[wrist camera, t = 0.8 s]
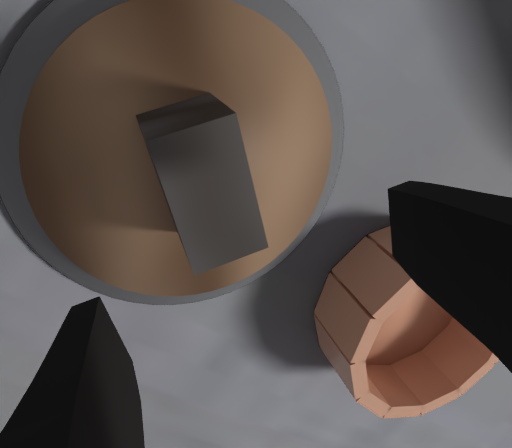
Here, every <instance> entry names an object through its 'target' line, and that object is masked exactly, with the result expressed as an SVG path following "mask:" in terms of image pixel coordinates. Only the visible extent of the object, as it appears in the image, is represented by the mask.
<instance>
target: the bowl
mask: <svg viewBox="0 0 512 448" xmlns="http://www.w3.org/2000/svg"><path fill="white" fill-rule="evenodd" d="M331 271H332V273H329V275H328V277H327V280H326V282H325V285H324V287H323V290H322V293H321V295H320V298H319V300H318V303H317V305H316V308H315V310H314V313H315V314H314V320H315V325H316V330H317V335H318V340H319V345H320V348H321V349H322V351H323V352H324V354H325V355H326V357H327V358H328V360H329V361H330V363H331V364H332V366H333V367H334V369H335V370H336V372H337V373H338V375H339V376H340V378H341V379H342V381H343V382H344V384H345V385H346V387H347V388H348V390H349V391H350V393H351V394H352V396H353V397H354V399H355V400H356V402H358V403H359V404H361V405H362V406H364V407H365V408H367V409H368V410H370V411H371V412H373V413H374V414H376V415H377V416H379V417H380V418H382V417H383V419H384V418H399V417H414V416H419V415H420V414H421V415H424V414H426V413H428V412H430V411H432V410H434V409H436V408H438V407H440V406H442V405H444V404H446V403H448V402H450V401H452V400H455V399H457V398H459V397H460V394H461V395H463V394H464V393H465V392H466V391H467V390H468V389H470V388H471V387H472V386H473V385H474V384H475V383H476V382H477V381H478V380H479V379H480V378H482V377H483V376H484V375H485V374H486V373H487V372H488V371H489V370H490V369H491V368H493V367H494V366H495V365H494V363H497V362H498V360H499V359H498V358H497V357H496V356H495V355H494V354H493V353H492V352H491V351H490V350H489V349H488V348H487V347H486V346H485V345H484V344H483V343H481V342H480V341H479V340H478V339H477V338H476V337H475V336H473V335H472V334H471V333H470V332H469V331H468V330H467V329H466V328H464V327H463V326H462V325H461V324H460V323H459V322H458V321H457V320H455V319H454V318H453V317H452V316H451V315H450V314H449V313H447V312H446V311H445V310H444V309H443V308H442V307H441V306H440V305H438V304H437V303H436V302H435V301H434V300H433V299H432V298H431V297H430V296H428V295H427V294H426V293H425V292H424V291H423V290H422V289H421V288H420V287H419V286H418V285H417V284H416V283H415V282H414V281H413V280H412V279H411V278H410V277H409V275H408V274H407V273H406V272H405V271H404V269H403V268H402V267H401V266H400V265H399V263H398V262H397V261H396V260H395V258H394V257H393V256H392V242H391V228H390V226H388V227H386V228H383V229H381V230H378V231H375V232H373V233H370V234H368V237H366V236H365V237H364V238H363V239H362V240H361V241H360V242H359V243H358V244H357V245H356V246H355V247H354V248H353V249H352V250H351V251H350V252H349V253H348V254H347V255H346V256H345V257H344V258H343V259H342V260H341V261H340V262H339V263H338V264H337V265H336V266H335V267H334V268H333V269H332V270H331Z"/></svg>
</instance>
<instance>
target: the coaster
mask: <svg viewBox="0 0 512 448" xmlns="http://www.w3.org/2000/svg"><path fill="white" fill-rule="evenodd" d="M125 1H128V0H54V1H52V2H51V3H50V4H49V5H48V6H47V7H46V8H45V9H44V10H43V11H42V12H41V13H40V14H39V15H38V16H37V17H36V18H35V19H34V20H33V21H32V22H31V23H30V25H29V26H28V27H27V29H26V30H25V31H24V33H23V34H22V36H21V37H20V38H19V40H18V41H17V42H16V44H15V45H14V47H13V49H12V51H11V53H10V55H9V57H8V59H7V61H6V63H5V65H4V67H3V69H2V71H1V74H0V196H1V199H2V201H3V203H4V205H5V207H6V209H7V211H8V213H9V215H10V217H11V219H12V221H13V222H14V224H15V225H16V227H17V228H18V230H19V231H20V233H21V234H22V236H23V237H24V238H25V240H26V241H27V242H28V243H29V244H30V245H31V246H32V247H33V249H34V250H35V251H36V252H37V253H38V254H39V255H40V256H41V257H42V258H43V259H44V260H46V261H47V262H48V263H49V264H50V265H51V266H53V267H54V268H55V269H56V270H57V271H59V272H61V273H62V274H64V275H65V276H67V277H68V278H70V279H71V280H73V281H74V282H76V283H78V284H80V285H82V286H84V287H86V288H88V289H90V290H92V291H95V292H98V293H100V294H103V295H106V296H109V297H112V298H115V299H120V300H124V301H129V302H133V303H142V304H151V305H176V304H185V303H193V302H198V301H202V300H207V299H211V298H215V297H218V296H221V295H224V294H227V293H230V292H232V291H234V290H236V289H239V288H241V287H243V286H245V285H247V284H249V283H251V282H253V281H254V280H256V279H258V278H259V277H261V276H263V275H264V274H266V273H267V272H268V271H270V270H271V269H273V268H274V267H275V266H277V265H278V264H279V263H280V262H281V261H283V260H284V259H285V258H286V257H287V256H288V255H289V254H290V253H291V252H292V251H293V250H294V249H295V248H296V247H297V246H298V245H299V244H300V243H301V242H302V240H303V239H304V238H305V237H306V236H307V234H308V233H309V231H310V230H311V229H312V227H313V226H314V225H315V223H316V222H317V220H318V218H319V217H320V215H321V213H322V211H323V209H324V208H325V206H326V204H327V202H328V199H329V197H330V195H331V192H332V190H333V188H334V184H335V181H336V178H337V175H338V171H339V168H340V162H341V157H342V151H343V139H344V118H343V106H342V101H341V95H340V89H339V86H338V83H337V80H336V76H335V73H334V70H333V67H332V65H331V63H330V61H329V59H328V56H327V54H326V52H325V50H324V48H323V46H322V45H321V43H320V42H319V40H318V38H317V37H316V35H315V34H314V32H313V31H312V29H311V28H310V27H309V26H308V24H307V23H306V22H305V21H304V20H303V18H302V17H301V16H300V15H299V14H298V13H297V11H296V10H294V9H293V8H292V7H291V6H290V5H289V4H288V3H287V2H285V1H284V0H230V1H234V2H236V3H238V4H241V5H243V6H245V7H247V8H250V9H252V10H254V11H256V12H257V13H259V14H260V15H262V16H264V17H265V18H267V19H269V20H270V21H272V22H273V23H274V24H275V25H277V26H278V27H279V28H280V29H281V30H282V31H284V32H285V33H286V34H287V35H288V36H289V37H290V38H291V39H292V40H293V41H294V42H295V44H296V45H297V46H298V47H299V48H300V49H301V50H302V52H303V53H304V55H305V56H306V58H307V59H308V61H309V62H310V64H311V65H312V67H313V68H314V70H315V73H316V75H317V77H318V79H319V81H320V83H321V85H322V88H323V91H324V94H325V97H326V100H327V103H328V108H329V113H330V119H331V130H332V150H331V160H330V166H329V172H328V176H327V179H326V183H325V186H324V189H323V192H322V194H321V197H320V199H319V201H318V204H317V206H316V208H315V210H314V212H313V213H312V215H311V217H310V219H309V220H308V222H307V223H306V225H305V226H304V228H303V229H302V230H301V232H300V233H299V235H298V236H297V237H296V238H295V239H294V240H293V241H292V243H291V244H290V245H289V246H288V247H287V248H286V249H285V250H284V251H283V252H282V253H281V254H280V255H278V256H277V257H276V258H275V259H274V260H273V261H271V262H270V263H269V264H267V265H266V266H264V267H263V268H262V269H260V270H259V271H257V272H255V273H254V274H252V275H250V276H248V277H247V278H245V279H243V280H240V281H238V282H236V283H234V284H232V285H229V286H226V287H223V288H220V289H217V290H214V291H210V292H205V293H201V294H196V295H187V296H154V295H145V294H140V293H136V292H131V291H127V290H124V289H121V288H118V287H115V286H113V285H110V284H107V283H105V282H103V281H101V280H99V279H97V278H96V277H94V276H92V275H90V274H88V273H87V272H86V271H84V270H83V269H81V268H80V267H78V266H77V265H75V264H74V263H73V262H72V261H71V260H70V259H68V258H67V257H66V256H65V255H64V254H63V253H62V252H61V251H60V250H59V249H58V248H57V247H56V246H55V244H54V243H53V242H52V241H51V240H50V239H49V237H48V236H47V235H46V233H45V232H44V230H43V229H42V227H41V225H40V224H39V222H38V221H37V219H36V217H35V215H34V213H33V210H32V208H31V206H30V204H29V202H28V199H27V196H26V192H25V189H24V185H23V182H22V177H21V169H20V162H19V134H20V129H21V123H22V118H23V112H24V109H25V106H26V103H27V100H28V97H29V95H30V92H31V89H32V87H33V85H34V83H35V81H36V80H37V78H38V76H39V74H40V72H41V70H42V68H43V66H44V65H45V63H46V62H47V61H48V59H49V58H50V57H51V55H52V54H53V53H54V51H55V50H56V49H57V47H58V46H59V45H60V44H61V43H62V42H63V41H64V40H65V39H66V38H67V37H68V36H69V35H70V34H71V33H72V32H73V31H74V30H75V29H77V28H78V27H79V26H81V25H82V24H84V23H85V22H86V21H88V20H89V19H91V18H92V17H93V16H95V15H97V14H99V13H101V12H103V11H105V10H106V9H108V8H110V7H112V6H114V5H117V4H120V3H123V2H125Z"/></svg>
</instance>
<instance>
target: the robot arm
mask: <svg viewBox="0 0 512 448" xmlns="http://www.w3.org/2000/svg"><path fill="white" fill-rule="evenodd" d="M388 199H389V213H390V228H391V242H392V256H393V257H394V258H395V260H396V261H397V262H398V263H399V265H400V266H401V267H402V268H403V269H404V271H405V272H406V273H407V274H408V275H409V277H410V278H411V279H412V280H413V281H414V282H415V283H416V284H417V285H418V286H419V287H420V288H421V289H422V290H423V291H424V292H425V293H426V294H427V295H428V296H430V297H431V298H432V299H433V300H434V301H435V302H436V303H437V304H438V305H440V306H441V307H442V308H443V309H444V310H445V311H446V312H447V313H449V314H450V315H451V316H452V317H453V318H454V319H455V320H457V321H458V322H459V323H460V324H461V325H462V326H463V327H464V328H466V329H467V330H468V331H469V332H470V333H471V334H472V335H473V336H475V337H476V338H477V339H478V340H479V341H480V342H481V343H483V344H484V345H485V346H486V347H487V348H488V349H489V350H490V351H491V352H492V353H493V354H494V355H495V356H496V357H497V358H498V359H499V360H500V361H501V362H502V363H503V364H504V365H505V366H506V367H507V368H508V369H509V371H510V372H511V373H512V198H510V197H504V196H498V195H493V194H487V193H482V192H476V191H471V190H466V189H460V188H455V187H449V186H444V185H438V184H432V183H425V182H417V181H408V182H405V183H402V184H400V185H397V186H394V187H392V188H389V189H388ZM0 448H145V446H144V433H143V421H142V409H141V400H140V395H139V390H138V385H137V380H136V375H135V371H134V366H133V362H132V359H131V357H130V355H129V353H128V351H127V349H126V347H125V346H124V344H123V342H122V340H121V338H120V336H119V334H118V332H117V330H116V328H115V326H114V324H113V322H112V320H111V318H110V316H109V314H108V312H107V310H106V308H105V306H104V304H103V302H102V300H101V298H100V296H99V297H96V298H94V299H91V300H88V301H86V302H83V303H80V304H78V305H75V306H72V307H71V309H70V311H69V313H68V315H67V316H66V318H65V320H64V322H63V324H62V326H61V328H60V330H59V332H58V334H57V336H56V338H55V340H54V342H53V343H52V345H51V347H50V349H49V351H48V353H47V355H46V357H45V359H44V361H43V362H42V364H41V366H40V368H39V370H38V372H37V374H36V375H35V377H34V379H33V381H32V383H31V384H30V386H29V388H28V389H27V391H26V393H25V394H24V396H23V398H22V399H21V401H20V403H19V404H18V406H17V407H16V409H15V411H14V412H13V414H12V416H11V417H10V419H9V421H8V422H7V424H6V425H5V427H4V428H3V430H2V432H1V433H0Z"/></svg>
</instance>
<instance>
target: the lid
mask: <svg viewBox="0 0 512 448" xmlns="http://www.w3.org/2000/svg"><path fill="white" fill-rule="evenodd" d="M331 150H332V130H331V119H330V113H329V108H328V103H327V100H326V97H325V94H324V91H323V88H322V85H321V83H320V81H319V79H318V77H317V75H316V73H315V70H314V68H313V67H312V65H311V64H310V62H309V61H308V59H307V58H306V56H305V55H304V53H303V52H302V50H301V49H300V48H299V47H298V46H297V45H296V44H295V42H294V41H293V40H292V39H291V38H290V37H289V36H288V35H287V34H286V33H285V32H284V31H282V30H281V29H280V28H279V27H278V26H277V25H275V24H274V23H273V22H272V21H270V20H269V19H267V18H265V17H264V16H262V15H260V14H259V13H257V12H256V11H254V10H252V9H250V8H247V7H245V6H243V5H241V4H238V3H236V2H234V1H230V0H128V1H125V2H123V3H120V4H117V5H114V6H112V7H110V8H108V9H106V10H105V11H103V12H101V13H99V14H97V15H95V16H93V17H92V18H91V19H89V20H88V21H86V22H85V23H84V24H82V25H81V26H79V27H78V28H77V29H75V30H74V31H73V32H72V33H71V34H70V35H69V36H68V37H67V38H66V39H65V40H64V41H63V42H62V43H61V44H60V45H59V46H58V47H57V49H56V50H55V51H54V53H53V54H52V55H51V57H50V58H49V59H48V61H47V62H46V63H45V65H44V66H43V68H42V70H41V72H40V74H39V76H38V78H37V80H36V81H35V83H34V85H33V87H32V89H31V92H30V95H29V97H28V100H27V103H26V106H25V109H24V112H23V118H22V123H21V129H20V134H19V162H20V169H21V177H22V182H23V185H24V189H25V192H26V196H27V199H28V202H29V204H30V206H31V208H32V210H33V213H34V215H35V217H36V219H37V221H38V222H39V224H40V225H41V227H42V229H43V230H44V232H45V233H46V235H47V236H48V237H49V239H50V240H51V241H52V242H53V243H54V244H55V246H56V247H57V248H58V249H59V250H60V251H61V252H62V253H63V254H64V255H65V256H66V257H67V258H68V259H70V260H71V261H72V262H73V263H74V264H75V265H77V266H78V267H80V268H81V269H83V270H84V271H86V272H87V273H88V274H90V275H92V276H94V277H96V278H97V279H99V280H101V281H103V282H105V283H107V284H110V285H113V286H115V287H118V288H121V289H124V290H127V291H131V292H136V293H140V294H145V295H154V296H187V295H196V294H201V293H205V292H210V291H214V290H217V289H220V288H223V287H226V286H229V285H232V284H234V283H236V282H238V281H240V280H243V279H245V278H247V277H248V276H250V275H252V274H254V273H255V272H257V271H259V270H260V269H262V268H263V267H264V266H266V265H267V264H269V263H270V262H271V261H273V260H274V259H275V258H276V257H277V256H278V255H280V254H281V253H282V252H283V251H284V250H285V249H286V248H287V247H288V246H289V245H290V244H291V243H292V241H293V240H294V239H295V238H296V237H297V236H298V235H299V233H300V232H301V230H302V229H303V228H304V226H305V225H306V223H307V222H308V220H309V219H310V217H311V215H312V213H313V212H314V210H315V208H316V206H317V204H318V201H319V199H320V197H321V194H322V192H323V189H324V186H325V183H326V179H327V176H328V172H329V166H330V160H331Z"/></svg>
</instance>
